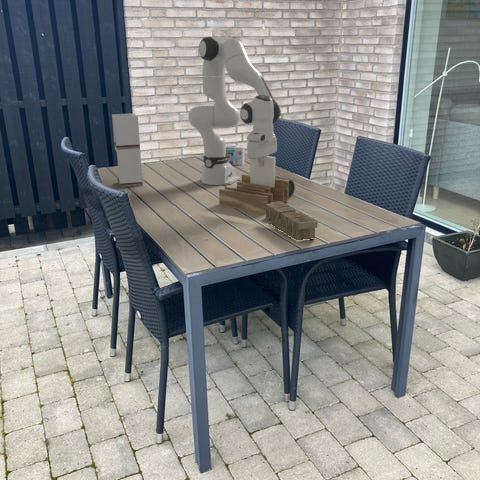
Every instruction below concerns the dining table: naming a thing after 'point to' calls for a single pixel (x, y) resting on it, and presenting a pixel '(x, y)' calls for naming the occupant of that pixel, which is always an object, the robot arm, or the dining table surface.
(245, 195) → the rack
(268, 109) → the robot arm
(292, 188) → the bluetooth speaker
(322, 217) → the dining table surface
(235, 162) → the light bulb box
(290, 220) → the block tower
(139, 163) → the grey stacked pillar
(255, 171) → the white rectangular panel
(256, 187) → the offcut top
